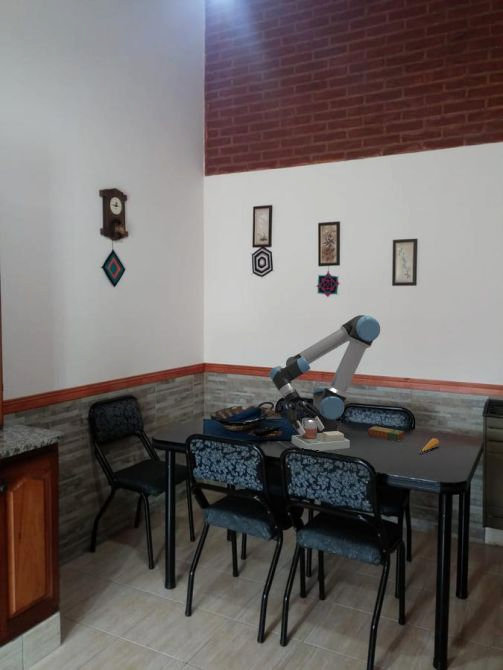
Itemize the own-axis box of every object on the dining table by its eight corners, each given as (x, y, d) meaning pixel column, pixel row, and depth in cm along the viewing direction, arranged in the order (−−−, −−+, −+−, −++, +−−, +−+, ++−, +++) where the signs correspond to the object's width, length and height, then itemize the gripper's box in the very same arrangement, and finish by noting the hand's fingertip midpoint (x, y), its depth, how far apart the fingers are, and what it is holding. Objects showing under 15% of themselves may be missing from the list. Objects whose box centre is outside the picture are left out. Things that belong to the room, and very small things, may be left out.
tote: (332, 441, 270) (332, 432, 270) (349, 450, 255) (349, 440, 255) (291, 444, 262) (291, 435, 262) (306, 454, 247) (307, 444, 247)
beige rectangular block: (337, 443, 262) (338, 431, 262) (343, 446, 257) (343, 434, 256) (322, 444, 260) (322, 432, 259) (327, 448, 254) (328, 435, 254)
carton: (374, 433, 287) (374, 425, 287) (404, 439, 278) (404, 430, 278) (367, 436, 280) (368, 428, 280) (398, 442, 271) (398, 433, 271)
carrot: (433, 447, 266) (430, 438, 266) (442, 445, 263) (438, 436, 263) (415, 460, 251) (412, 450, 251) (424, 458, 248) (420, 449, 248)
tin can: (312, 442, 264) (312, 417, 263) (319, 446, 257) (320, 420, 256) (298, 443, 261) (299, 418, 260) (305, 447, 255) (306, 421, 254)
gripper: (302, 396, 277) (325, 431, 268) (267, 402, 260) (290, 440, 251) (311, 387, 273) (334, 423, 263) (276, 393, 256) (299, 431, 246)
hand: (313, 431), depth 257 cm, fingers open, 13 cm apart
